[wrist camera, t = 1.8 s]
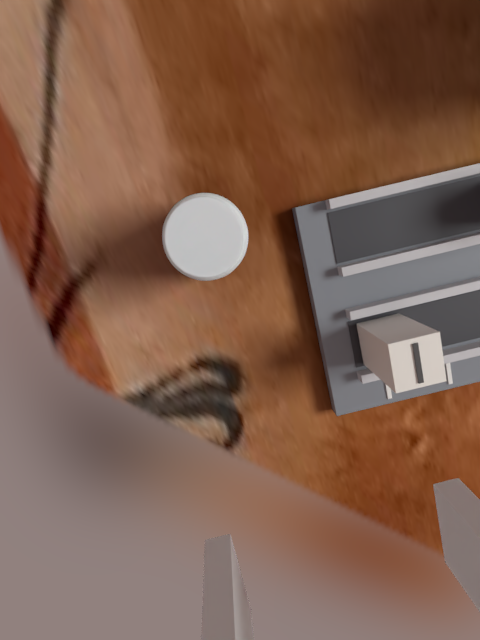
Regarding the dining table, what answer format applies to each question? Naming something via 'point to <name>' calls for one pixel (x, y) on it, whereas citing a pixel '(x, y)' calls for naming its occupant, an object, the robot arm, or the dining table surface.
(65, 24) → the dining table surface
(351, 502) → the dining table surface
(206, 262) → the pill bottle
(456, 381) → the console
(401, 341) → the fader cap
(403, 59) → the dining table surface
